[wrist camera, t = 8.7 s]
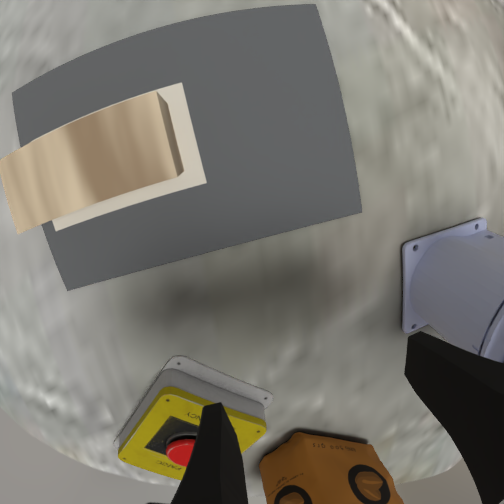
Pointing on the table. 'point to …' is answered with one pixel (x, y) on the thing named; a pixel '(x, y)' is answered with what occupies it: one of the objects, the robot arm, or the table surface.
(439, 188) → the table surface
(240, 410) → the emergency button
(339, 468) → the coffee package
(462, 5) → the table surface
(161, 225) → the rubber mat
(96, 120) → the wooden block
